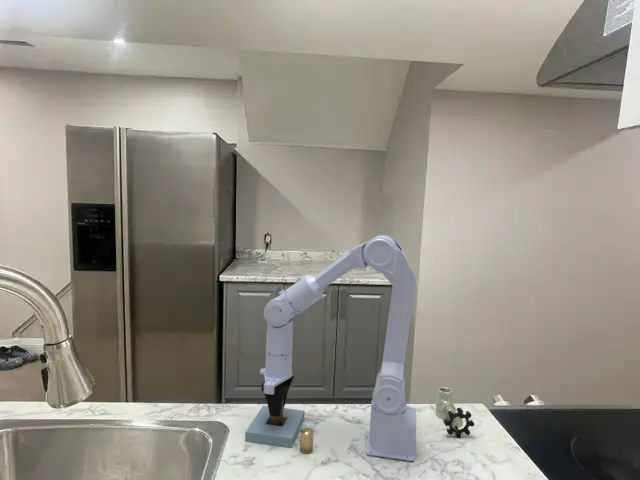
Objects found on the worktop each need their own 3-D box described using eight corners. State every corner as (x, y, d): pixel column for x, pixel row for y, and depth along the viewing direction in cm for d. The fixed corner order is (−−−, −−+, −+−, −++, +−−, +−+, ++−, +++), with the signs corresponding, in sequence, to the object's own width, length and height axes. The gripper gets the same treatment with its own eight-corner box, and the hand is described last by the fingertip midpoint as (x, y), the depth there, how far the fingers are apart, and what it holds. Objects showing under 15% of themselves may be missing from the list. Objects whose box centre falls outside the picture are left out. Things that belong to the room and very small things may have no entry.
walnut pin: (283, 422, 92) (285, 387, 91) (280, 428, 89) (282, 392, 89) (272, 421, 92) (273, 386, 92) (269, 427, 90) (270, 391, 89)
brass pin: (313, 447, 85) (314, 428, 84) (311, 454, 82) (312, 435, 82) (301, 445, 85) (302, 427, 85) (298, 453, 83) (299, 433, 82)
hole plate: (304, 419, 96) (304, 410, 96) (291, 447, 84) (292, 438, 84) (263, 413, 98) (263, 405, 97) (245, 441, 86) (245, 431, 86)
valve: (427, 411, 102) (444, 438, 90) (428, 385, 102) (446, 409, 90) (453, 412, 103) (473, 438, 91) (455, 386, 102) (475, 409, 90)
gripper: (271, 339, 97) (269, 395, 98) (250, 361, 83) (248, 426, 84) (300, 342, 96) (298, 399, 97) (284, 365, 82) (281, 431, 83)
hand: (276, 412), depth 91 cm, fingers closed on walnut pin, 3 cm apart
